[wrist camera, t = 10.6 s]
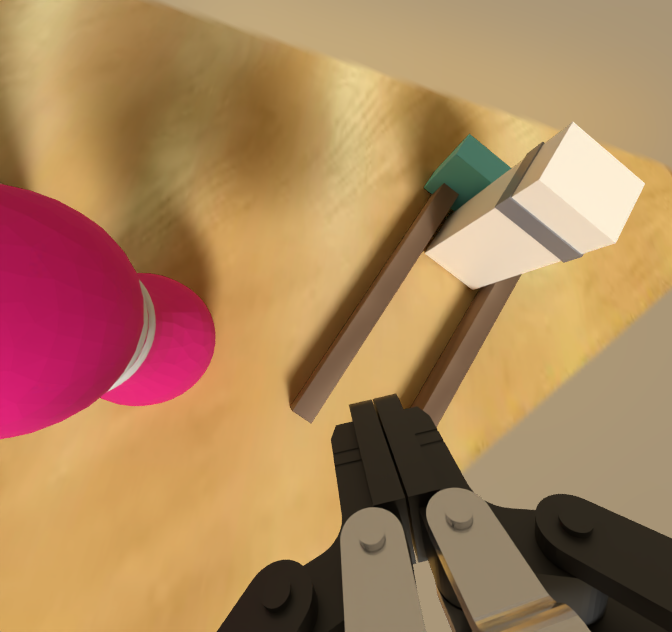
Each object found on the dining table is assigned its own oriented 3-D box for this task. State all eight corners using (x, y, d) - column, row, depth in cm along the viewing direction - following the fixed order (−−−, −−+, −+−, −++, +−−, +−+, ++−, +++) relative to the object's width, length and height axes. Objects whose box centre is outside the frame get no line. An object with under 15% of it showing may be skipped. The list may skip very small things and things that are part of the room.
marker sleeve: (423, 253, 29) (536, 180, 17) (448, 214, 29) (572, 119, 18) (473, 291, 29) (616, 245, 17) (496, 252, 30) (647, 183, 18)
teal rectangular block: (423, 187, 30) (456, 153, 25) (435, 170, 30) (469, 133, 25) (523, 266, 31) (573, 248, 26) (533, 248, 31) (584, 228, 26)
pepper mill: (89, 382, 23) (-880, 511, 3) (128, 276, 24) (-414, -74, 5) (203, 408, 24) (-23, 611, 5) (235, 306, 25) (161, 129, 6)
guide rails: (289, 407, 25) (292, 411, 23) (440, 181, 30) (453, 169, 28) (393, 476, 26) (404, 485, 24) (523, 246, 31) (540, 239, 29)
